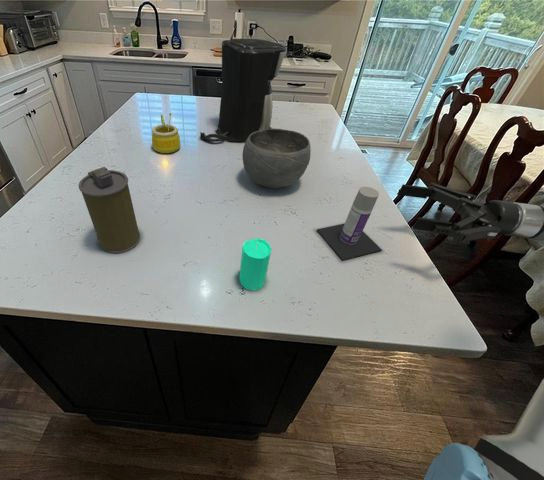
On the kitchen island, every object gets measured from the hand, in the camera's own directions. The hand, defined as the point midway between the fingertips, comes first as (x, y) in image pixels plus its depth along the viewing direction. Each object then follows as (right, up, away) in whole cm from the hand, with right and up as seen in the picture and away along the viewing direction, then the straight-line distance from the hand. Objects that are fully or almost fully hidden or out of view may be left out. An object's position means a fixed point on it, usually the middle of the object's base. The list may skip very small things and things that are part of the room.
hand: (407, 205), depth 69 cm
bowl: (-27, +12, +31) cm, 43 cm away
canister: (-70, -8, +8) cm, 71 cm away
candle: (-36, -18, -1) cm, 41 cm away
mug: (-65, +28, +47) cm, 85 cm away
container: (-10, -8, +10) cm, 16 cm away
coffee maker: (-38, +40, +62) cm, 83 cm away
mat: (-10, -8, +10) cm, 16 cm away
